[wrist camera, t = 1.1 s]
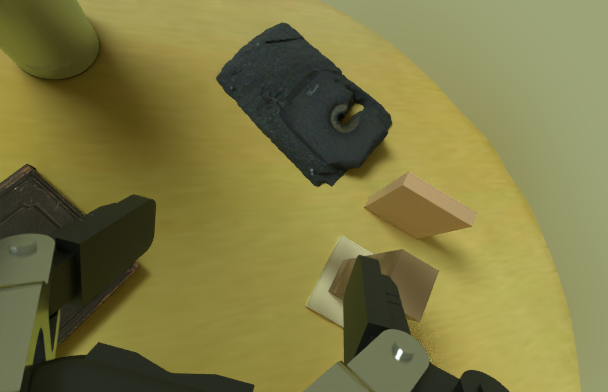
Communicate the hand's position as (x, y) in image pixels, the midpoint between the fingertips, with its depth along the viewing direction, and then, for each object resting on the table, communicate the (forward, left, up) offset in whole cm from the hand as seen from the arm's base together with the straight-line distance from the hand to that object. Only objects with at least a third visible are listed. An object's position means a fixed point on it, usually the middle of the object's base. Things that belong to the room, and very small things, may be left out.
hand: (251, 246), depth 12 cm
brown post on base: (+4, +11, -24) cm, 27 cm away
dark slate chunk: (-19, +12, -25) cm, 34 cm away
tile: (-2, +19, -24) cm, 31 cm away
